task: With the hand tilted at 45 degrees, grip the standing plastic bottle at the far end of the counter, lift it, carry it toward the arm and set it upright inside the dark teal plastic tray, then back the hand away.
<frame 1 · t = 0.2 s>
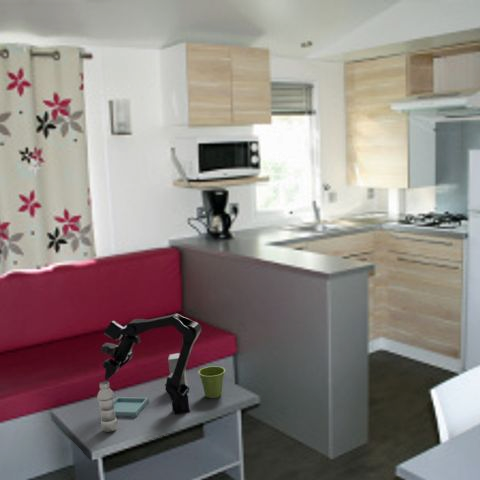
hand: (110, 375, 285), 15 cm above the table, tool tilted 35°, fingers open, 9 cm apart
plant pot: (213, 395, 293), on the table
skincare box: (179, 389, 303), on the table
plastic bottle: (110, 430, 266), on the table
tray: (126, 409, 285), on the table
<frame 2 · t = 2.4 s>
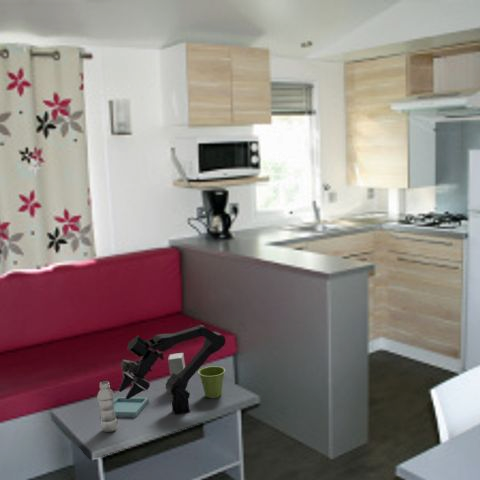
hand: (123, 395, 267), 13 cm above the table, tool tilted 45°, fingers open, 9 cm apart
nothing on the table moved.
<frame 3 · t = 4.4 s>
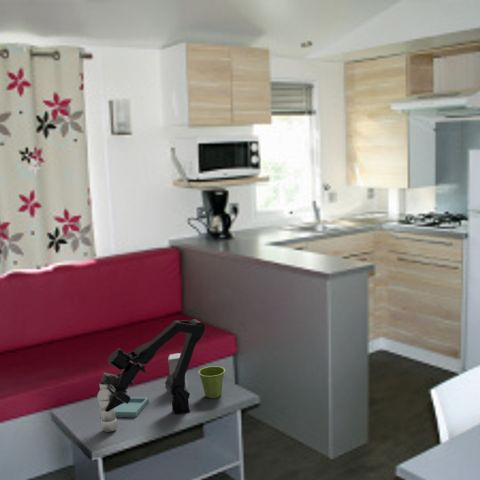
hand: (103, 408, 264), 10 cm above the table, tool tilted 45°, fingers closed on plastic bottle, 6 cm apart
plastic bottle: (110, 430, 266), on the table, touching gripper
everything else where it was.
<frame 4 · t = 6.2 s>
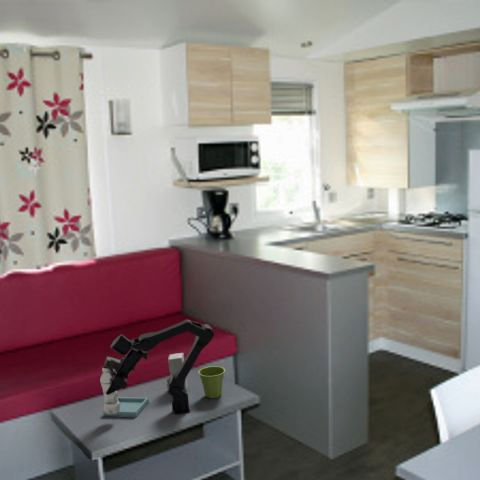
hand: (106, 391, 272), 13 cm above the table, tool tilted 45°, fingers closed on plastic bottle, 6 cm apart
plastic bottle: (113, 413, 274), point 4 cm above the table, touching gripper
everything else where it was.
when the fingers open (12 cm above the table, at t = 7.9 s): plastic bottle drops 1 cm, resting on tray.
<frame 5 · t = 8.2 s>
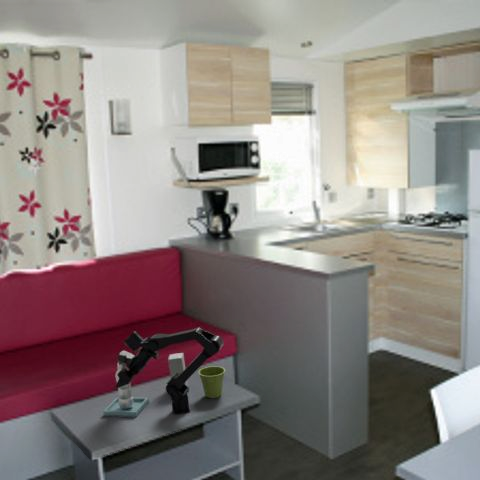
hand: (120, 383, 284), 12 cm above the table, tool tilted 45°, fingers open, 9 cm apart
plastic bottle: (126, 408, 285), point 1 cm above the table, touching tray
everything else where it was.
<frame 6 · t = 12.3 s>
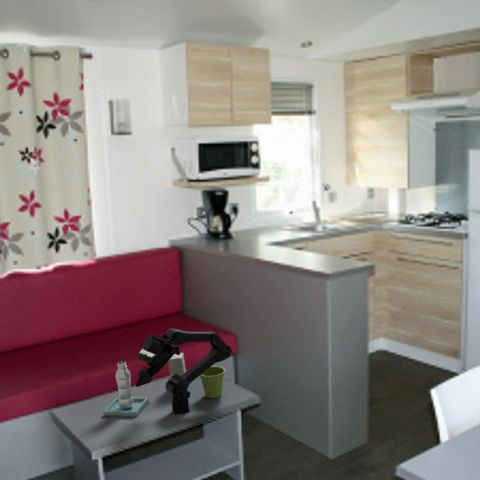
hand: (140, 381, 278), 14 cm above the table, tool tilted 45°, fingers open, 9 cm apart
nothing on the table moved.
at the end: plastic bottle inside the target area on the tray (0.1 cm from its centre), point 0.6 cm above the tray's base; plastic bottle tilted 0°; the gripper is holding nothing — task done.
